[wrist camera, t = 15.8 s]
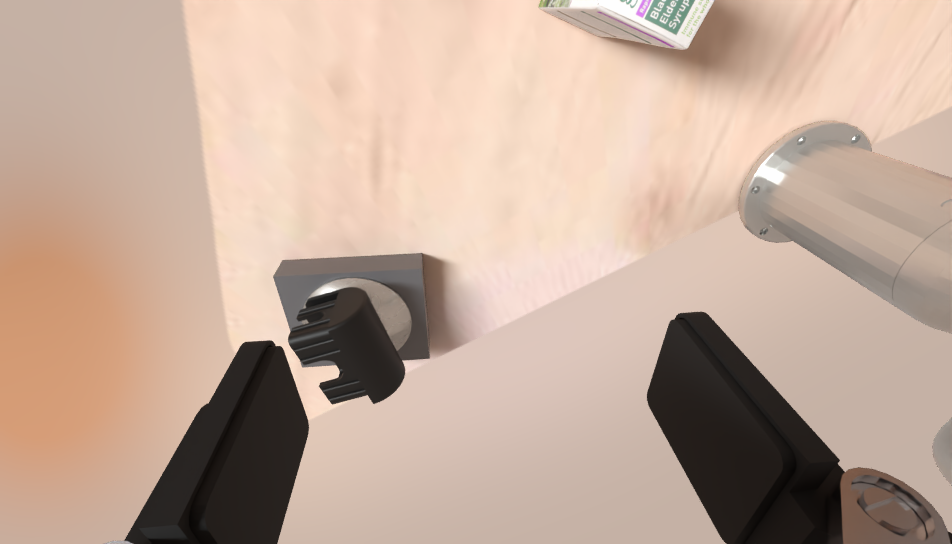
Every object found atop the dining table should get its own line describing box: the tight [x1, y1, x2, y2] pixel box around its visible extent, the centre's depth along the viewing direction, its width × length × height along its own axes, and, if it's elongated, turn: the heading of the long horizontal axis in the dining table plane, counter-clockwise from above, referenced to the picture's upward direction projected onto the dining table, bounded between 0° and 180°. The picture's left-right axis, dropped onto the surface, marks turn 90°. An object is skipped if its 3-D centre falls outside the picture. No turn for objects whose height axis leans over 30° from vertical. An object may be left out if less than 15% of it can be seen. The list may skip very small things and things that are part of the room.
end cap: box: [288, 287, 405, 404], centre depth 40 cm, size 10×7×7 cm
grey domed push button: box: [273, 253, 430, 367], centre depth 44 cm, size 14×12×3 cm
